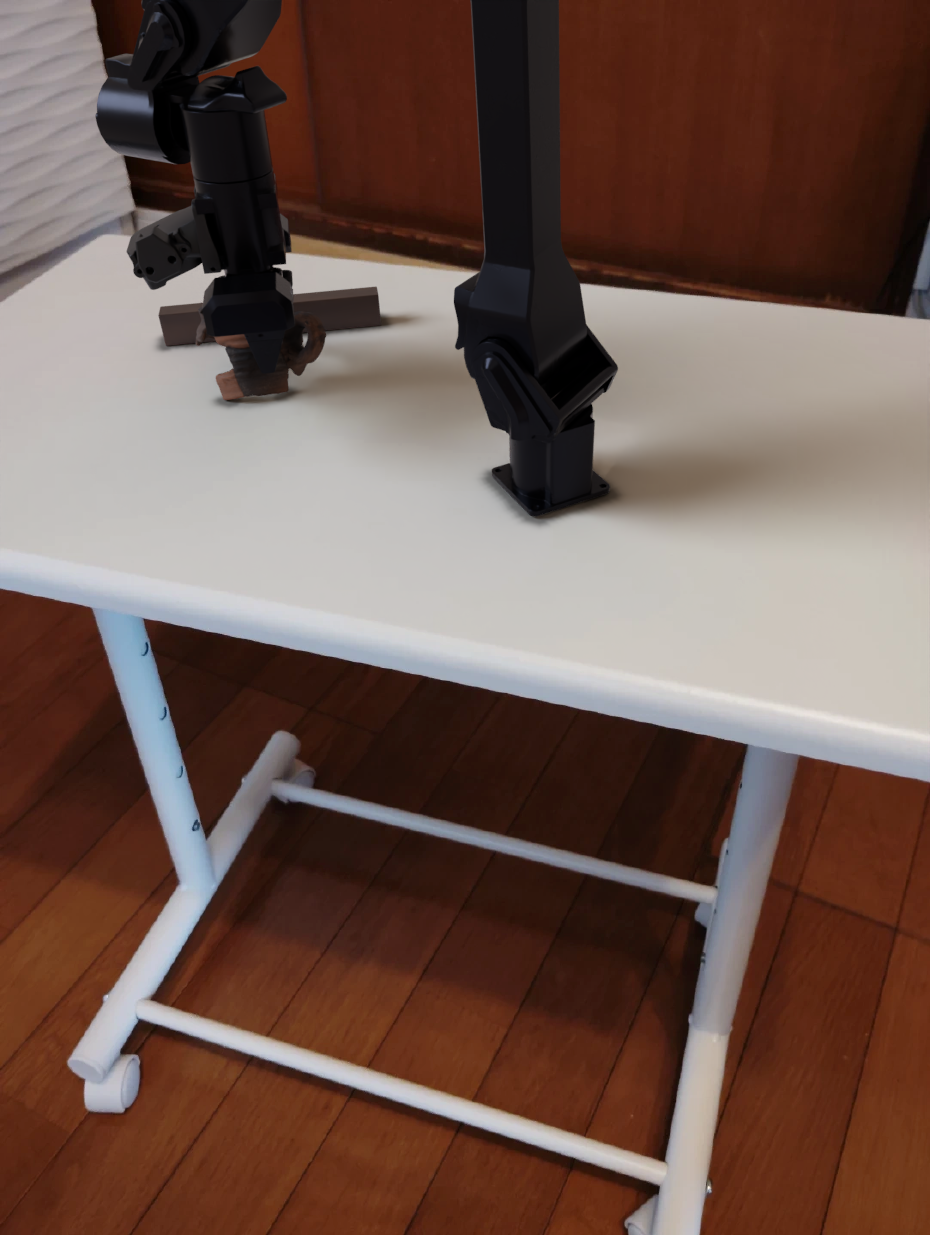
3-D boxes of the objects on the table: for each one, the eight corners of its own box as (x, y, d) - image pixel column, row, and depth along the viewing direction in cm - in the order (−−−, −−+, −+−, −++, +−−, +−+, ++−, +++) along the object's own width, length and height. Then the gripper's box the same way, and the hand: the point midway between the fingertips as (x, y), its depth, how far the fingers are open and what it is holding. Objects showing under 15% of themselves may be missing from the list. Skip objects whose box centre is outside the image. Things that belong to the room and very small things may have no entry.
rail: (381, 325, 96) (378, 294, 94) (165, 346, 94) (158, 315, 92) (379, 316, 97) (376, 286, 95) (167, 337, 95) (160, 306, 93)
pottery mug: (188, 409, 85) (165, 309, 84) (243, 406, 94) (224, 315, 93) (315, 383, 81) (294, 277, 80) (361, 382, 90) (343, 287, 89)
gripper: (133, 146, 80) (176, 334, 90) (103, 224, 65) (159, 438, 75) (275, 134, 81) (303, 322, 91) (277, 209, 66) (309, 422, 76)
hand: (268, 371), depth 83 cm, fingers closed
